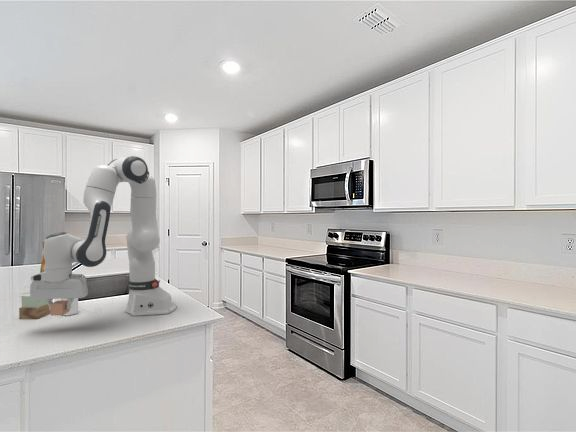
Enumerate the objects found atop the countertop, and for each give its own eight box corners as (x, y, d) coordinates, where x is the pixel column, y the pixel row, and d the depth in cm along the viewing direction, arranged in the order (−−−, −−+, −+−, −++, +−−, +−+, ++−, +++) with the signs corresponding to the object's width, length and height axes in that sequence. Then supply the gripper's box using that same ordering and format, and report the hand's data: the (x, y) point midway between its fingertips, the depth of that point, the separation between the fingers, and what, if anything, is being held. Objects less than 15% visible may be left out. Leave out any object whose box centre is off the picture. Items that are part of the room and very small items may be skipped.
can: (65, 317, 144) (65, 289, 143) (58, 314, 147) (58, 287, 147) (81, 313, 149) (80, 286, 149) (73, 310, 153) (73, 285, 152)
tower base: (51, 313, 149) (51, 302, 149) (38, 319, 141) (38, 308, 141) (33, 313, 149) (33, 302, 148) (19, 319, 141) (19, 308, 140)
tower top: (49, 303, 148) (49, 292, 148) (37, 307, 141) (37, 296, 141) (34, 302, 148) (34, 291, 148) (21, 307, 141) (21, 296, 141)
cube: (69, 311, 131) (69, 300, 131) (62, 315, 126) (62, 303, 126) (58, 311, 131) (57, 300, 131) (50, 315, 126) (50, 304, 126)
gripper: (90, 272, 131) (91, 306, 132) (38, 273, 131) (39, 307, 131) (81, 275, 125) (82, 311, 126) (26, 276, 124) (27, 312, 125)
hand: (60, 309), depth 129 cm, fingers closed on cube, 4 cm apart
